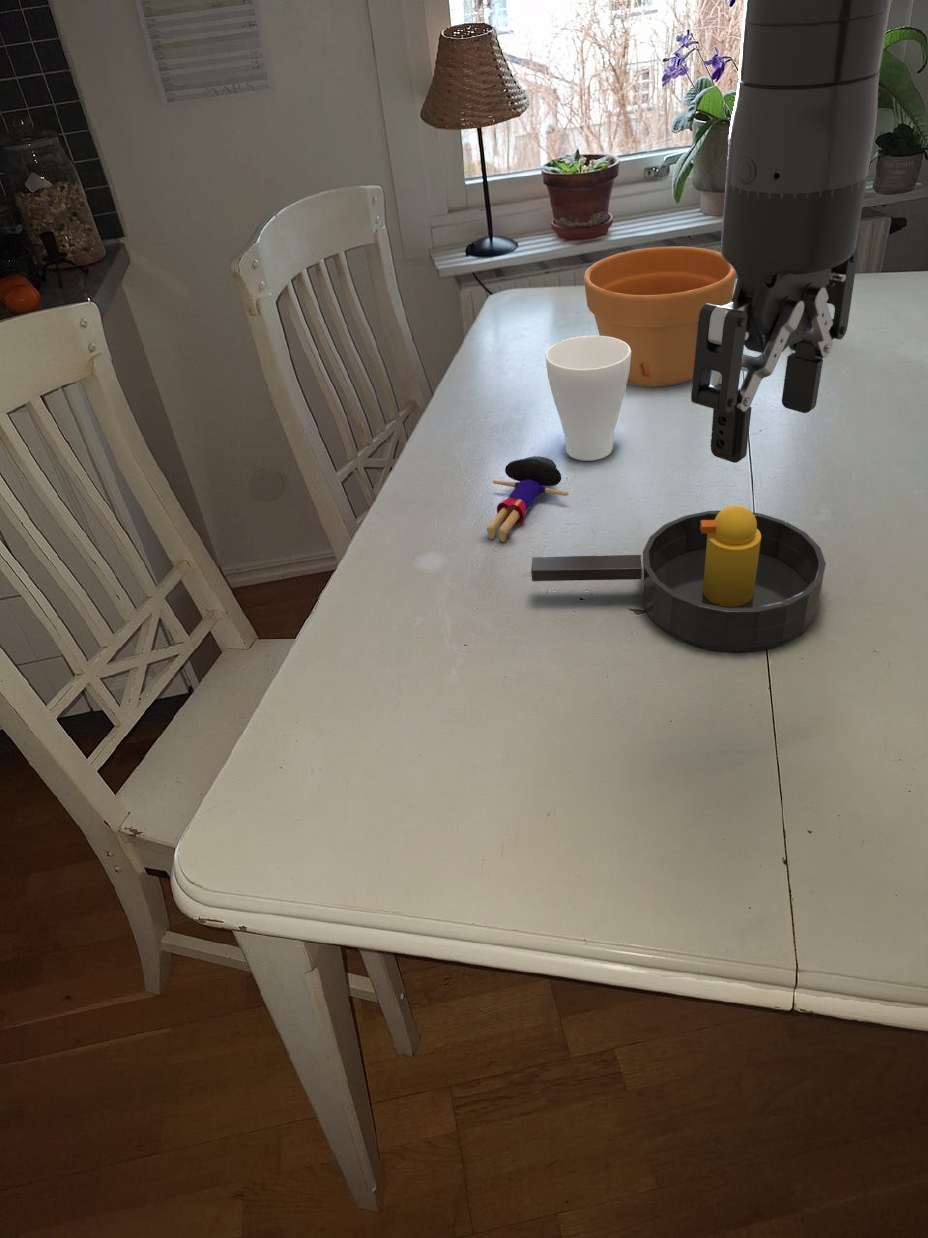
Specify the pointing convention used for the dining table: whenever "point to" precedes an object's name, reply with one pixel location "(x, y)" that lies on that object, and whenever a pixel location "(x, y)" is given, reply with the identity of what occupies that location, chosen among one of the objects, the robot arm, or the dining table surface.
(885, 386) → the dining table surface
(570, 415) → the cup
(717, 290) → the flower pot
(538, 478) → the toy
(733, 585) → the yellow duck figurine
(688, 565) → the pan
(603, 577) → the pan handle
